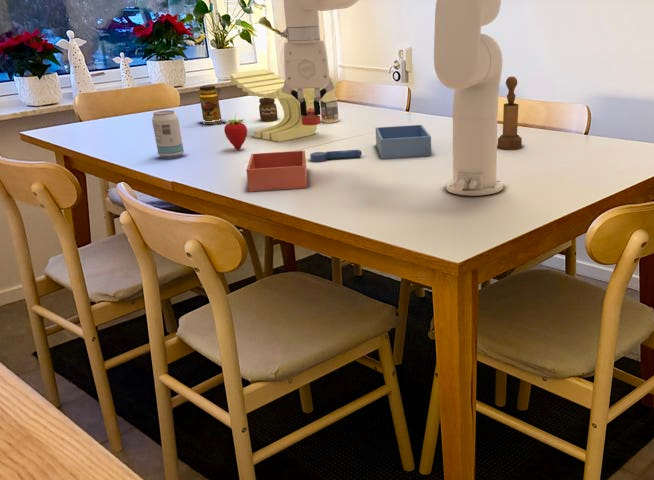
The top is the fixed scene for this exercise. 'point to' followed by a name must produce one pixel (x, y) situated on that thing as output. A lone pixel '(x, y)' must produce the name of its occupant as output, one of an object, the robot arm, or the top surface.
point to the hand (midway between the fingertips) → (311, 118)
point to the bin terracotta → (277, 171)
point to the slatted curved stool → (271, 87)
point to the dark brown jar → (267, 109)
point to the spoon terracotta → (311, 118)
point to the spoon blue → (334, 155)
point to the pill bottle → (329, 111)
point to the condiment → (210, 104)
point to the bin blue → (403, 141)
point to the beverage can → (167, 134)
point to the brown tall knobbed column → (510, 119)
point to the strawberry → (236, 132)
